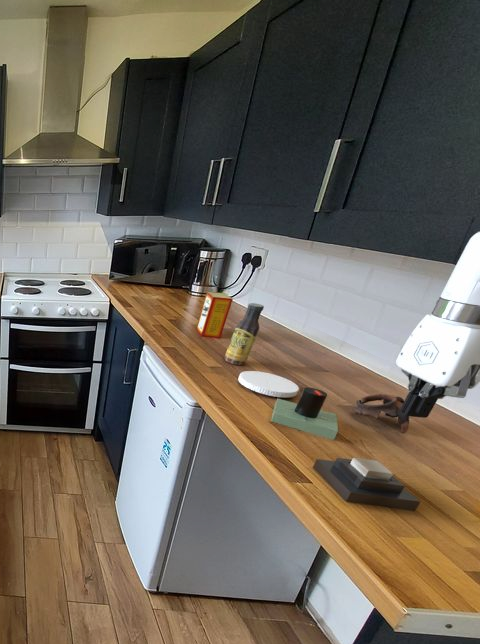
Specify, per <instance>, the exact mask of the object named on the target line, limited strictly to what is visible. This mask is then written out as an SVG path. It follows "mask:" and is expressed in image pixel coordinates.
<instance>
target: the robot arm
mask: <svg viewBox="0 0 480 644" xmlns="http://www.w3.org/2000/svg"><path fill="white" fill-rule="evenodd" d="M395 364H396V366H397V367H398V368H399V369H401V372H402V373H403V374H404V375H405V377H407V378H408V385H407V391H409V392H408V393H407V395H406V397H405V399H404V403H403V405H402V406H401V408H400V412H402V413H404V414H405V415H407V416H409V417H412V418H421V419H422V418H423V419H425V418H428V417H429V416H430V414H431V412H432V410H433V409H434V407H435V405H436V403H437V402H438V400H443V399H444V398H445V397H451V398H456V399H457V398H458V399H464V398H466V396H467V393H468V389H469V390H472V389H474V388H476V387H477V386H478V385H479V383H480V231H477V232H476V233H474V234H473V235H472V236H471V237H470V238H469V240H468V242H467V244H466V245H465V247H464V249H463V251H462V253H461V255H460V257H459V259H458V260H457V263H456V265H455V266H454V268H453V270H452V272H451V275H450V276H449V278H448V280H447V282H446V284H445V286H444V288H443V290H442V292H441V293H440V296H439V298H438V299H437V300H436V302H435V305H434V307H433V309H432V311H431V313H427V314H426V315H424V317H423V318H422V319H421V320H420V321H419V323H418V324H417V325H416V327H414V329H413V330H412V332H411V334H410V335H409V336H408V339H407V340H406V341H405V343H404V345H403V347H402V348H401V350H400V351H399V354H398V356H397V358H396V360H395Z"/></svg>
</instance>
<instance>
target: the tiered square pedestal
mask: <svg viewBox="0 0 480 644" xmlns="http://www.w3.org/2000/svg"><path fill="white" fill-rule="evenodd" d="M351 461H352V458H351V459H350V458H344V457H343V458H342V457H336V459H335V460H327V459H321V458H316V460H315V462H314V464H313V465H312V469H313V470H314V471H315V472H316V473H317V475H319V476H320V477H321V478H322V479H323V480H324V481H325V482H326V483H327V484H328V485H329V486H330V487H331V488H332V489H333V490H334V491H335V492H336V494H338V496H339V497H341V499H342V500H343V501H344V502H346V503H353V504H359V505H360V504H361V505H366V506H375V507H381V508H389V509H396V510H403V511H409V512H415V511H416V510H417V508H418V507H419V506H420V504H421V501H420V500H419V499H418V497H416V496H415V495H413V494H412V493H411V492H410V491H408V490H407V489H406V485H405V484H403V483H402V482H401V481H399V480H398V479H397V478H396V477H394V475H392V477H391V478H390V480H381V479H374V478H366V477H364V476H363V475H361V474H360V473H359V472H358V471H357V470H356V469H355V468H354V467H352V466H351V465H350V463H351Z"/></svg>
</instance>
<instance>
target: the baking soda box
mask: <svg viewBox="0 0 480 644" xmlns="http://www.w3.org/2000/svg"><path fill="white" fill-rule="evenodd" d="M205 293H206V294H205V297H204V300H203V304H202V307H201V311H200V315H199V317H198V322H197V325H196V328H195V329H196V331H197V332H198V334H199V335H200V336H201V337H204V338H213V339H221V337H222V334H223V332H224V328H225V324H226V322H227V319H228V315H229V313H230V310H231V306H232V302H233V300H234V299H233V298H232V297H231V296H229V294H227V293H225V292H215V291H206V292H205Z"/></svg>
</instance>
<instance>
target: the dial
mask: <svg viewBox="0 0 480 644" xmlns="http://www.w3.org/2000/svg"><path fill="white" fill-rule="evenodd" d="M327 397H328V393H327V392H325V391H324V390H321V389H319V388H316V387H307V386H306V387H304V388H303V390H302V392H301V395H300V396H299V399H298V401H297V403H296V404H297V406H296V408H295V412H296V413H298V414H300V415H302V416H305V417H309V418H316V417H317V416H318V414H319V412H320V410H322V407H323V405H324V403H325V401H326V398H327Z"/></svg>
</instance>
